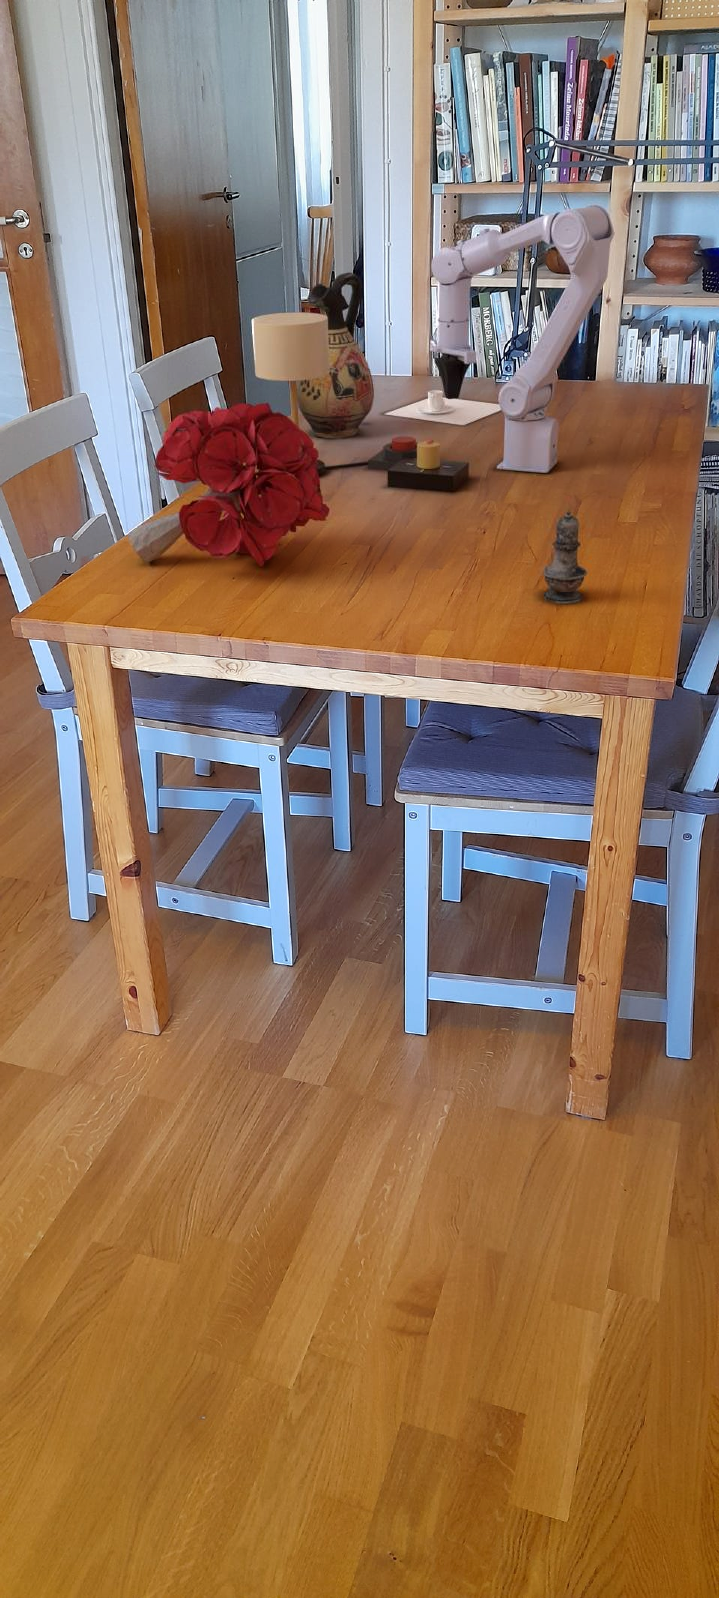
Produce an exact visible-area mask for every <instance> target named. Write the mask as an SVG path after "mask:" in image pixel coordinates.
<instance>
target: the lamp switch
mask: <svg viewBox="0 0 719 1598" xmlns="http://www.w3.org/2000/svg"><path fill="white" fill-rule="evenodd" d="M391 443H392V449H394V450H412V449H416V443H417V439H416V438H415V437H413V436H409V435H407V436H406V435H405V436H403V435H402V436H396V437H393V438H391Z"/></svg>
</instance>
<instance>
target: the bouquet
mask: <svg viewBox="0 0 719 1598" xmlns="http://www.w3.org/2000/svg"><path fill="white" fill-rule="evenodd" d="M270 404H271V403H270V402H266V403H265V402H262V403H261V402H260V403H257V404H255V405H252V404H251V403H238V404H235V405H232V406H229V408H220V407H219V406H216V407H214V409H213V410H211V411H209V410H207V411H204V410H193V411H189V412H184V413H181V414H180V415H177V416H176V417H175V418H174V419H173V420H172V421H171V422H170V423H169V427H168V430H167V429H166V430H165V432H164V434H163V435H162V436H163V437H162V446H161V447H160V448H159V450H158V451H157V453H156V456H155V460H154V461H155V463H154V467H155V468H156V469H157V471H158V472H157V471H156V472H155V473H156V474H157V475H159V476H160V477H162V478H163V479H165V480H166V481H175V482H179V483H181V484H188V483H194V482H199V481H200V483H202V484H203V485H204V486H206V485H207V486H208V487H209V488H208V489H207V490H206V492H205V493H203V495H197V497H198V498H199V499H195V500H191V501H190V503H188V504H187V503H186V504H182V505H181V508H180V510H179V511H178V512H175V513H172V514H170V515H166V516H163V517H160V518H156V519H153V520H151V521H148V522H145V523H143V524H141V525H139V526H138V527H136V528H134V529H132V530H131V531H130V532H128V540H129V543H130V545H131V547H132V549H133V550H134V552H135V553H136V555H137V556H138V557H139V558H140V560H142V562H145V563H146V564H148V563H151V562H153V561H154V560H156V559H158V558H159V557H161V556H162V555H163V554H164V553H165V552H167V551H168V550H169V549H170V548H171V547H172V546H173V545H174V544H175V543H176V542H177V541H178V540H179V538H181V536H183V534H184V537H185V540H186V541H187V542H188V543H189V544H190V545H191V546H193V548H196V549H197V550H199V551H200V552H206V553H208V554H209V555H210V556H211V557H213V558H227V557H230V556H232V554H234V553H235V554H236V553H241V554H250V555H251V556H252V559H253V560H254V561H255V562H256V563H257V564H258V565H259V566H260V567H263V566H264V564H265V563H266V561H269V560H270V559H271V558H272V556H273V555H274V554H275V552H276V550H277V547H278V544H279V542H280V541H281V540H282V537H286V536H287V534H288V533H289V532H291V533H297V527H306V525H307V524H308V522H309V521H310V520H312V521H314V522H315V521H316V522H318V521H320V522H325V521H327V518H328V517H329V515H330V508H329V507H328V505H327V504H326V503H324V496H323V494H322V490H321V478H320V476H319V475H318V472H317V470H318V463H317V460H318V458H319V451H318V449H317V448H316V447H314V446H315V443H314V441H313V440H312V438H311V437H310V436H309V434H308V433H307V432H306V431H304V430H303V429H301V428H300V426H299V427H298V426H297V425H296V424H295V423H294V422H293V421H292V419H290V418H289V416H287V415H285V414H283V413H282V412H273V409H272V407H271V405H270ZM316 459H317V460H316ZM256 470H257V472H256ZM223 512H224V513H223ZM221 518H222V519H221Z"/></svg>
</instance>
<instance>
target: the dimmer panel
mask: <svg viewBox="0 0 719 1598" xmlns="http://www.w3.org/2000/svg"><path fill="white" fill-rule="evenodd" d="M386 471H387V488H395V489H403V490H404V489H405V490H416V491H428V492H440V493H450V494H451V493H452V494H453V493H455V492H456V491H457V490H458V489H460V488H461V486H463V485H464V484H465V483H466V482H467V481H468V480H469V477H470V476H469V475H470V474H469V473H470V462H469V461H458V460H457V461H456V460H446V459H445V460H443V459H440V466H439V467H438V468H434V469H422V468H419V467H417V458H407V457H405V458H403V459H402V460H401V461H399V462H398V463H397V464H395V465H394V466H393V467H391V468H390V469H389V470H386Z"/></svg>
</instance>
